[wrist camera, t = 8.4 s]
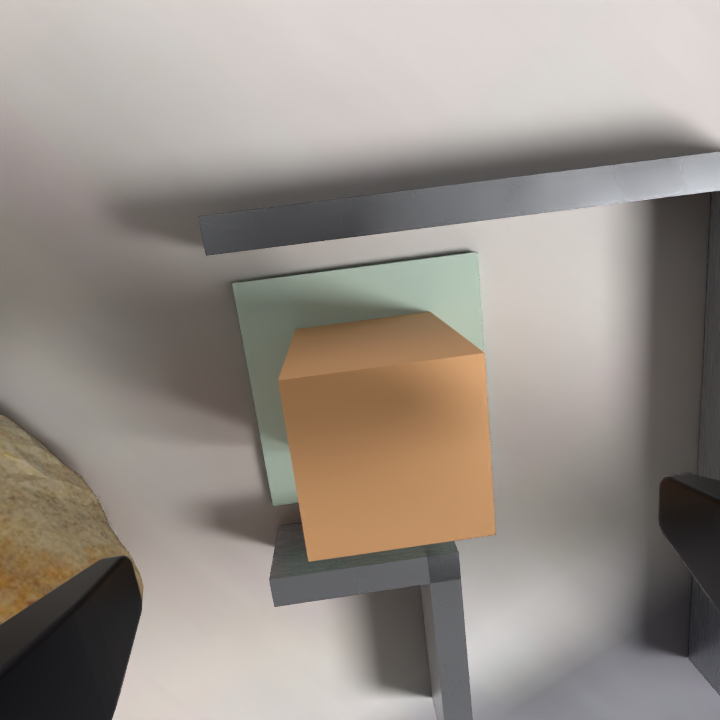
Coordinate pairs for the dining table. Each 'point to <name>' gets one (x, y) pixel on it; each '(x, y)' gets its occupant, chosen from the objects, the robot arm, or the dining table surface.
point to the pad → (340, 305)
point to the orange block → (387, 435)
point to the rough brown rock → (45, 522)
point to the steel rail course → (453, 206)
